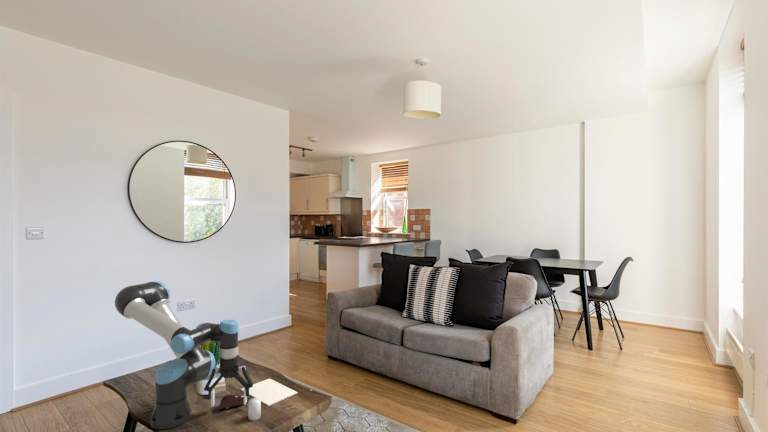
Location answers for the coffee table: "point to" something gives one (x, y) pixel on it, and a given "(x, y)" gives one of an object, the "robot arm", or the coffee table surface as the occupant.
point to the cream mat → (270, 391)
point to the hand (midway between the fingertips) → (229, 404)
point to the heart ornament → (231, 400)
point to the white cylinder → (254, 409)
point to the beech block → (220, 389)
